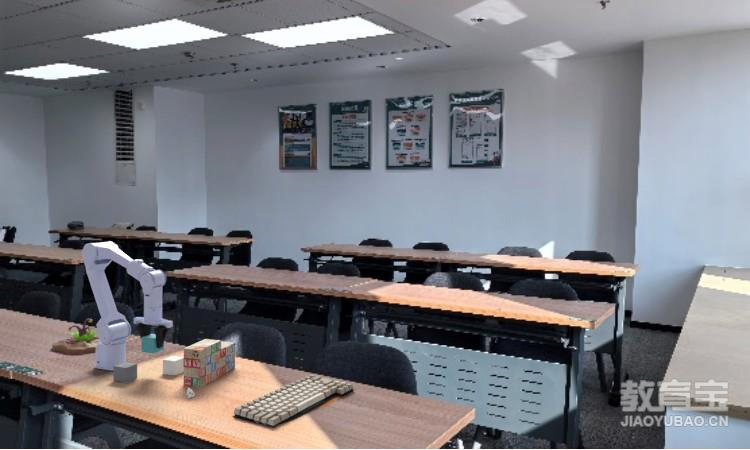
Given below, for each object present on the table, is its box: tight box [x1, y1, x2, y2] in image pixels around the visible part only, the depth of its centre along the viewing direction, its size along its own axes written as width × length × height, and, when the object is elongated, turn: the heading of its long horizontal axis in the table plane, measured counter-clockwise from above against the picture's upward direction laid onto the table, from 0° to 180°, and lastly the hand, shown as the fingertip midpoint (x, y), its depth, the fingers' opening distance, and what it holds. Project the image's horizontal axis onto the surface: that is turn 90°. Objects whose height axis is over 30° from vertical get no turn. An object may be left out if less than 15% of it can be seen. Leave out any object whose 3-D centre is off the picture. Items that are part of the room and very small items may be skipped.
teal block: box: [141, 333, 165, 354], centre depth 191 cm, size 5×5×5 cm
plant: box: [51, 318, 101, 355], centre depth 222 cm, size 20×20×11 cm
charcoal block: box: [113, 361, 138, 384], centre depth 185 cm, size 5×5×5 cm
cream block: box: [162, 355, 184, 376], centre depth 193 cm, size 5×5×5 cm
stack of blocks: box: [183, 338, 236, 388], centre depth 190 cm, size 21×6×12 cm, turn 163°
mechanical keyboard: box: [232, 373, 355, 430], centre depth 169 cm, size 38×19×3 cm, turn 151°
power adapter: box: [186, 387, 196, 399], centre depth 171 cm, size 3×3×3 cm
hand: (152, 346), depth 191 cm, fingers closed on teal block, 5 cm apart
